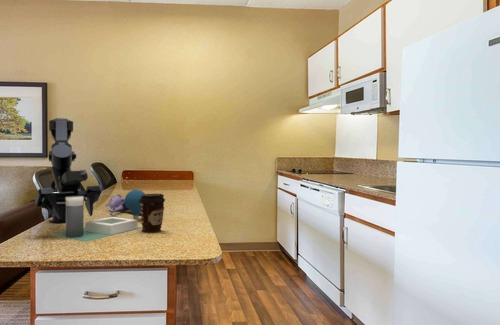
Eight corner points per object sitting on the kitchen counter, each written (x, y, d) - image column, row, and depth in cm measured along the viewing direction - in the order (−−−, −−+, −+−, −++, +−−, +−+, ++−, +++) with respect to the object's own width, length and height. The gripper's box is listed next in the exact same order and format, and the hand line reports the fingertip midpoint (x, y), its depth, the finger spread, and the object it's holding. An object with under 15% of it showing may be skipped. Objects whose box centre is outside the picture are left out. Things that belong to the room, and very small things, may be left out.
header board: (49, 238, 123) (49, 225, 123) (109, 225, 145) (109, 214, 145) (86, 244, 116) (86, 231, 116) (143, 230, 138) (143, 218, 137)
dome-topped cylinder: (62, 236, 122) (62, 197, 122) (75, 233, 127) (75, 195, 126) (73, 238, 120) (73, 198, 120) (87, 235, 124) (87, 196, 124)
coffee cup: (170, 232, 135) (170, 193, 135) (156, 237, 127) (157, 196, 127) (147, 230, 138) (148, 192, 137) (133, 235, 130) (133, 195, 130)
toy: (129, 206, 152) (85, 191, 170) (128, 229, 153) (83, 212, 171) (180, 199, 174) (135, 186, 191) (178, 220, 175) (134, 205, 192)
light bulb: (140, 223, 151) (141, 191, 150) (120, 221, 152) (120, 190, 152) (150, 219, 159) (151, 189, 158) (131, 218, 160) (131, 188, 160)
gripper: (37, 161, 119) (49, 203, 111) (99, 161, 132) (114, 198, 124) (30, 186, 125) (40, 226, 117) (90, 183, 138) (103, 219, 130)
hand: (76, 216), depth 122 cm, fingers open, 9 cm apart
